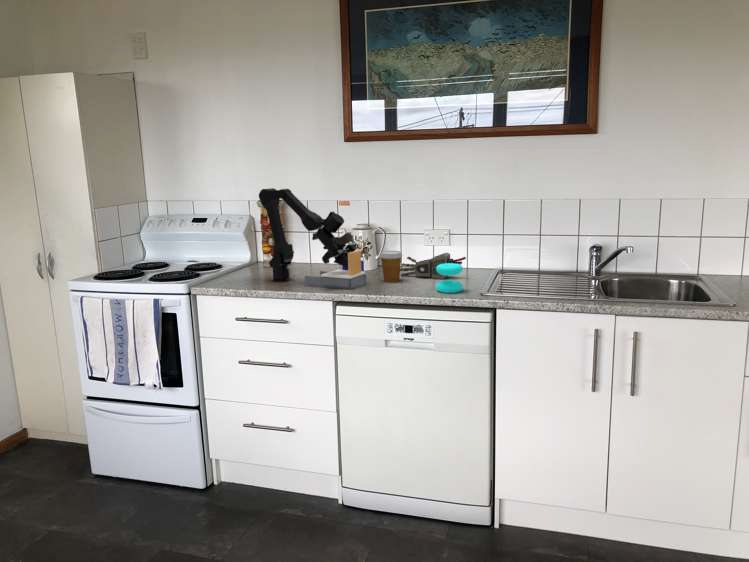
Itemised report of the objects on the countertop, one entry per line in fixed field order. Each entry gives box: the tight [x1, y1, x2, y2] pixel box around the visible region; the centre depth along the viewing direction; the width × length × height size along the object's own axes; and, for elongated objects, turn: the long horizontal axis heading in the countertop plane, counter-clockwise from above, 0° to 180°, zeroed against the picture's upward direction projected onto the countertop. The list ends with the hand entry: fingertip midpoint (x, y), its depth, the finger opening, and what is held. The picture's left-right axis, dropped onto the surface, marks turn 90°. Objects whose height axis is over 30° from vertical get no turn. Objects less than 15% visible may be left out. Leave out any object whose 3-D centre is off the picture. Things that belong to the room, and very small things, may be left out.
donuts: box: [435, 263, 464, 294], centre depth 224 cm, size 10×10×10 cm
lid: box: [321, 249, 367, 279], centre depth 239 cm, size 14×12×10 cm
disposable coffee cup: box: [379, 250, 403, 283], centre depth 246 cm, size 10×10×12 cm
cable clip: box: [341, 260, 365, 272], centre depth 261 cm, size 12×4×6 cm, turn 146°
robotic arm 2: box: [400, 252, 467, 280], centre depth 251 cm, size 10×8×30 cm
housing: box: [304, 270, 367, 291], centre depth 242 cm, size 22×12×4 cm, turn 61°
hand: (353, 268), depth 237 cm, fingers closed
